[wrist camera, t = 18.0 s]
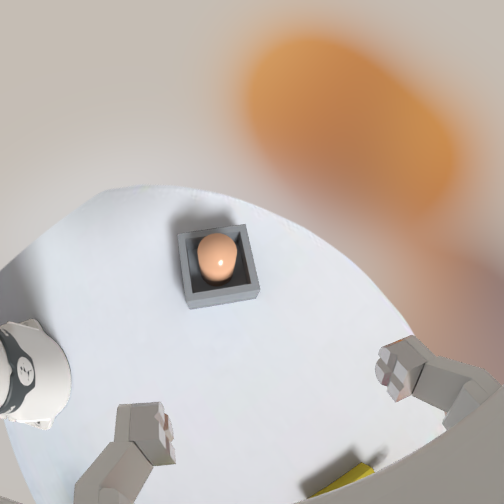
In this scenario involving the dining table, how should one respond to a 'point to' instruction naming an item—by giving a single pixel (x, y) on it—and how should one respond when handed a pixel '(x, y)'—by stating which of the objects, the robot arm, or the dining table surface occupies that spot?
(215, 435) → the dining table surface
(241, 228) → the gray open box
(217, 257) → the canister
